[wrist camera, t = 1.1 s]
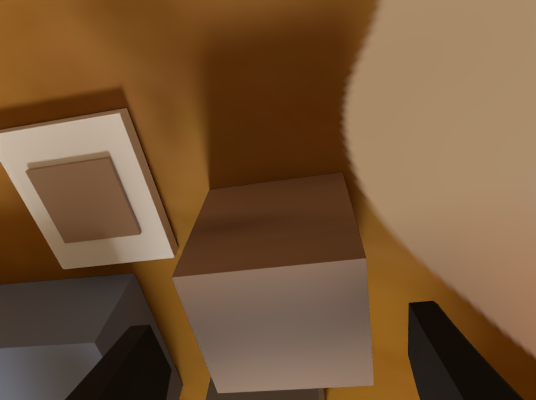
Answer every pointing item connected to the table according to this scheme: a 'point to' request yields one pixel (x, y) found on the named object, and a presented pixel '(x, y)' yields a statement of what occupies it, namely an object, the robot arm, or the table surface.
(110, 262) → the tile
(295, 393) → the grey cube
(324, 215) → the walnut cube
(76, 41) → the table surface
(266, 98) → the table surface
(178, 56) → the table surface
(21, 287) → the base block
